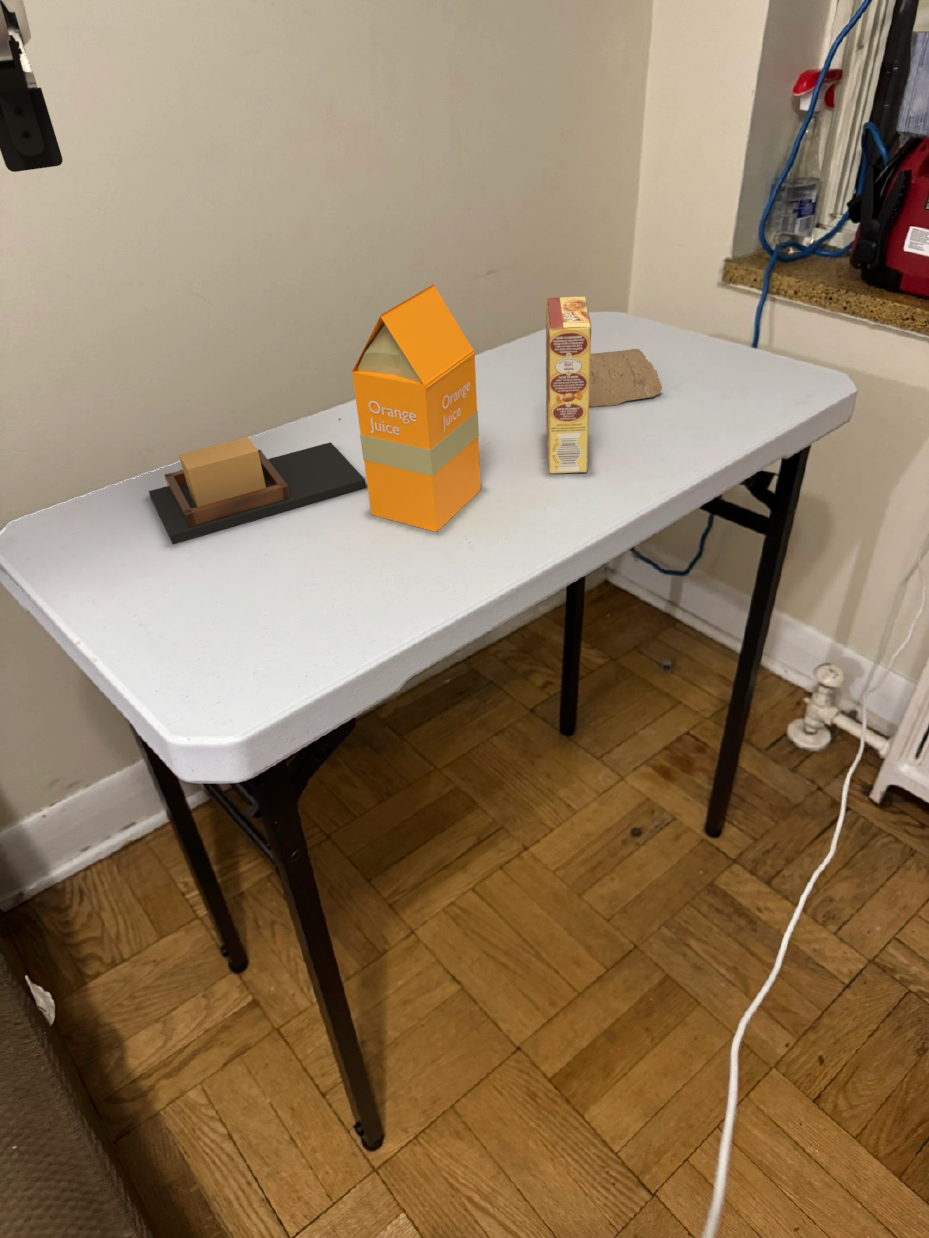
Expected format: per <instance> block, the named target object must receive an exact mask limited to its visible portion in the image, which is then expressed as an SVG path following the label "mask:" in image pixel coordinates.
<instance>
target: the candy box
mask: <svg viewBox="0 0 929 1238" xmlns="http://www.w3.org/2000/svg"><path fill="white" fill-rule="evenodd" d="M586 298H587V297H586V296H563V297H548V298H547V299H546V300H545V301H546V303H545V304H546V307H545V309H546V310H545V403H546V404H545V410H546V411H545V412H546V413H545V414H546V415H545V416H546V418H545V419H546V445H547V459H548V472H549V474H567V473H568V474H569V473H570V474H571V473H573V474H574V473H587V472H588V461H589V460H588V458H589V429H590V427H589V426H590V406H589V396H590V360H591V354H592V321H591V318H590V312H589V307H588V303H587V299H586Z"/></svg>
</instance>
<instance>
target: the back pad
mask: <svg viewBox="0 0 929 1238" xmlns="http://www.w3.org/2000/svg"><path fill="white" fill-rule="evenodd" d="M257 450H258V453H259V457H260V462H261V466H262V471H263V476H264V480H265V485H266V488H263V489H260V490H256V491H253V492H249V493H246V494H242V495H238V496H235V497H231V498H228V499H224V500H221V501H217V502H213V503H210V504H206V505H203V506H199V507H197V506H196V504H195V503H194V501H193V499H192V497H191V495H190V493H189V489H188V486H187V482H186V478H185V475H184V471H183V469H180V470H176V471H172V472H168V473H166V474H165V473H164V480H165V483H166V486H162V487H159V488H155V489H151V490H148V494H149V497H150V500H151V502H152V505H153V507H154V508H155V510H156V512H157V514H158V517H159V519H160V521H161V523H162V526H163V527H164V529H165V531H166V534H167V536H168V538H169V540H170V542H171V544H172V545H175V544H178V543H181V542H184V541H188V540H191V539H195V538H199V537H202V536H205V535H208V534H213V533H215V532H218V531H219V532H220V531H223V530H225V529H229V528H232V527H236V526H239V525H243V524H246V523H250V522H253V521H256V520H260V519H263V518H267V517H270V516H273V515H278V514H281V513H284V512H287V511H291V510H294V509H298V508H300V507H305V506H308V505H311V504H315V503H318V502H322V501H325V500H328V499H332V498H335V497H339V496H343V495H345V494H349V493H353V492H355V491H359V490H363V489H366V488H367V481H366V479H365V478H364V476H362V474H361V473H360V472H359V471H358V470H357V469H356V468H355V467H354V465H352V463H351V462H350V461H349V459H347V458H346V457H345V456H344V455H343V453H342V452H341V451H340V450H339V449H338V448H337V447H336V446H335V445H334V444H333V443H332V442H327V443H322V444H319V445H315V446H311V447H308V448H304V449H301V450H296V451H293V452H289V453H286V454H282V455H277V456H274V457H270V458H267V457H266V455H265V454H264V452H263V451H262V449H257Z"/></svg>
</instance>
